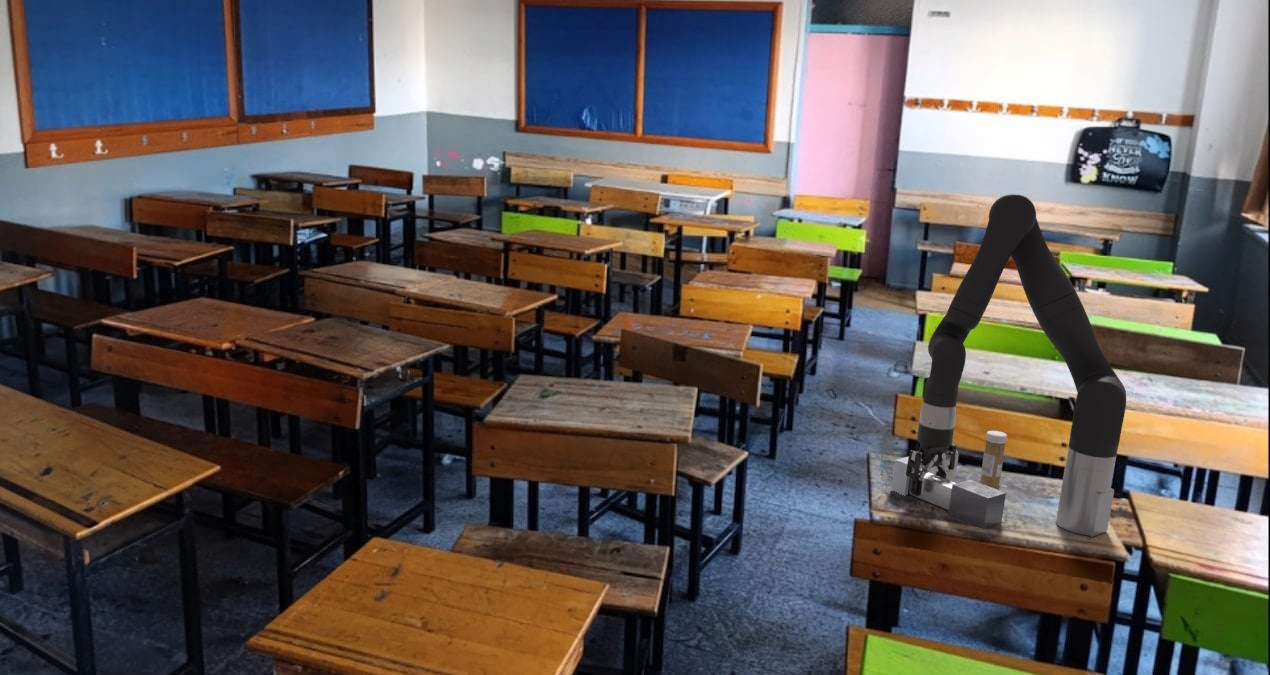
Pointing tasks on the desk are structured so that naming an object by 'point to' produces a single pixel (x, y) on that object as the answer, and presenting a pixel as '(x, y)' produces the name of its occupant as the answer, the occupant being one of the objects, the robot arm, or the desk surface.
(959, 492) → the sleeve
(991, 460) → the sprinkles bottle
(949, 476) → the eye dropper bottle
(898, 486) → the socket block
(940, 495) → the grey square post
